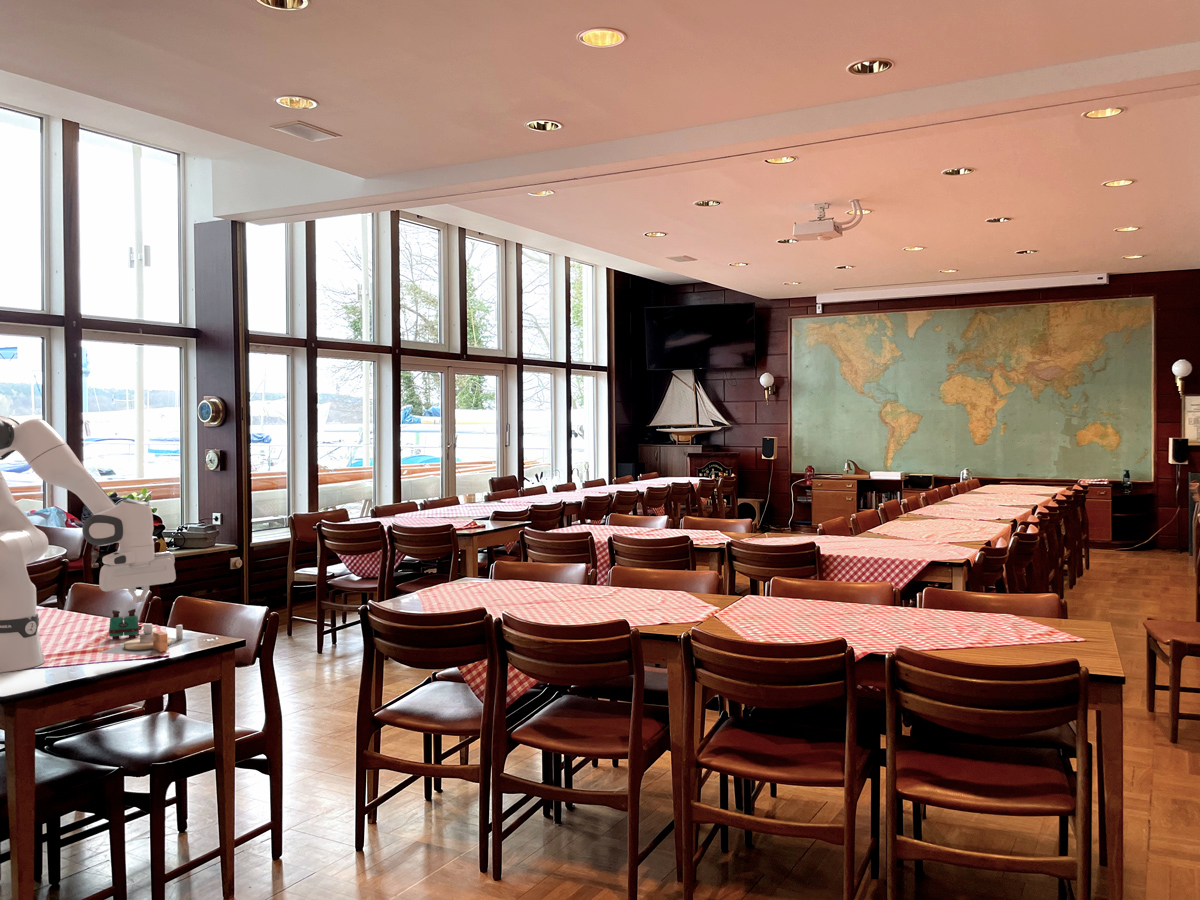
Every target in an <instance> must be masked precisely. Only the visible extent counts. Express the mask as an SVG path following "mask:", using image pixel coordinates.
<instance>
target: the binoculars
mask: <svg viewBox="0 0 1200 900" xmlns="http://www.w3.org/2000/svg"><path fill="white" fill-rule="evenodd" d="M136 609H137V608H133V609H129V610H128V611H127V613H128V615H127V616H124V617H123V616H120V614H121V613H120V612H121V611H120V610H114V609H112V614H113V615H112V617H110V618H109V630H108V634H109V635H108V636H109V637H112V641H116V640H120V637H123V636H125V637H126V636H128V639H131V640H133V639H137V638H136V637H138V636H140V634H141V633H140V631H141V630H142V625H140V624H139V617H138V615H136V614H135V613H136Z"/></svg>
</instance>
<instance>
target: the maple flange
mask: <svg viewBox="0 0 1200 900" xmlns="http://www.w3.org/2000/svg"><path fill="white" fill-rule="evenodd" d="M139 634H140V635H139V637H137V638H132V639H131V640H127V641H124V643H123V644H124V648H125V649H129V650H146V649H155V650H157V651H160V653H161V652H167V651H168V650H169V649H168V645H170V644H171V643H172V638H173V637H169V636H168V633H166V632H164V631H162V630H161V631H160V630H157V631H152V633H149V634H144V632H141V633H139Z"/></svg>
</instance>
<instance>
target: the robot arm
mask: <svg viewBox="0 0 1200 900" xmlns="http://www.w3.org/2000/svg"><path fill="white" fill-rule="evenodd" d="M14 452H17V453H18V454H20V455H21V456H22V458H23V459H24V460H25V461H26V462H27V464H28V465H29V466H30V468H31V469H32V470H33V472H34V473H35V474H36V475H37V476H38V477H39V478H40V479H41V480H43V481H44V482H45V483H47V484H48V485H52V486H56V487H59V488H63V489H65V490H68V491H70V492H71V493H73V494H75V495H76V496H77V497H78V498H79V499H80V501H82V503H83V504H84V505H85V506H86V507H87V508H88V509H89V511H90V512H91V513H92V515H90V516H88V517H87V518H86V520H85V521H84V522H83V524H82V528H81V529H82V535H83V537H84V539H85V541H87V543H89V544H91V545H93V546H98V547H103V546H108V545H113V544H115V543H116V544H117V543H118V544H119V547H120V548H119V549H118V550H117V551H115V552H114V551H113V552H112V553H110V554H106V555H104V556H102V558H101V559H102V563H103V566H101V568H100V571H99V580H98V584H99V585H98V586H99V589H100V590H101V591H103V592H113V591H119V590H127V591H128V593H129V595H131V597H132V603H134V604H138V603H142V602H143V603H144V602H146V600H147V599H146V597H147V595H148V592H149V591H150V586H156V585H164V584H169V583H174V582H175V581H176V579H177V575H176V574H177V573H176V569H175V562H176V560H175V559H176V558H175V555H174V553H172V552H170V551H164V552H155V541H154V539H153V532H154V529H155V526H154V516H153V511H152V507H151V505H150V503H148V502H146V501H144V500H140V499H124V500H121V501H120V502H119V503H118V504H117V503H115V502H114V501H113V500H112V498H111V497H110V496H109V495H108V494H107V492H106V491H104V489H103V488H102V487H101V485H100V484H99V483H98V482H97V481H96V479H94V477H93V476H92V475H91V474H90V473H89V471H88V470H87V469H86V467H85V466H84V465H83V464H82V462H81V461H80V460H79V459H78V457H77V455H76V454H75V452H74V451H73V450H72V449H71V447H70V445H68V443H67V442H66V441H65V439H64V437H62V436H61V435H60V434H59V433H58V432H57V430H56V429H54V428H53V427H52V426H51V425H50V424H49V423H48V422H47V421H45V420H44V419H40V418H34V419H28V420H26V421H24V422H22V423H20V422H18V421H16V420H15V419H13V418H11V417H5V416H3V415H0V461H3V460H5V459H6V458H7V457H9V456H10V455H11V454H13V453H14ZM6 481H7V480H6V479H5V477H4V474H3V473H2V471H1V470H0V673H4V672H13V671H21V670H26V669H30V668H34V667H37V666H40V665H42V664H44V663H45V659H44V658H45V655H44V653H43V652H42V645H41V638H40V633H39V630H38V629H39V626H40V624H39V622H40V617H39V613H37V609H38V608H37V587H36V585H35V584H34V583H33V582H32V581H31V578H30V575H29V572H28V570H27V569H28V568H27V565H29V564H31V563H35V562H36V561H37V560H39V559H41V557H43V556H44V555H45V554H46V553H47V551H48V549H49V539H48V536H47V535H46V533H45V532H44V531H42V530H41V529H39V528H38V527H36V525H34V524H33V522H32V521H31V520H30V519H29V518H28V516H27V515H26V514H25V513H24V511H23V510H22V509H21V508H20V506H19V505H18V503H17V501H16V500H15V498H14V495H13V494H12V492H11V490H10V488H9V486H8V483H7V482H6ZM137 588H141V590H142V592H141V594H140V595H137V594H136V591H137Z"/></svg>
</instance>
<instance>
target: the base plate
mask: <svg viewBox="0 0 1200 900" xmlns="http://www.w3.org/2000/svg"><path fill="white" fill-rule="evenodd" d="M183 628H184V627H183V624H177V625H175V633H176V634H175V637H171V638H172V643H171V644H170V645H168V650H169V649H172V648H173V647H177V646H179V645H182V644H183V645H184V644H186V643H188V642H191V641H195V639H194V638H183V637H184V636H183ZM152 632H153V623H144V624H143V633H144V634H149V633H152ZM159 652H160V651H157V650H155V649H146V650H129V649H125V648H124V643H122V644H121V645H118V646H115V647H111V648H108V649H105V650H103V651H100V652H99V653H100V654H101V653H103V654H118V655H133V656H134V655H136V656H138V655H139V656H152V655H154V654H158V653H159ZM160 653H161V652H160Z"/></svg>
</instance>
